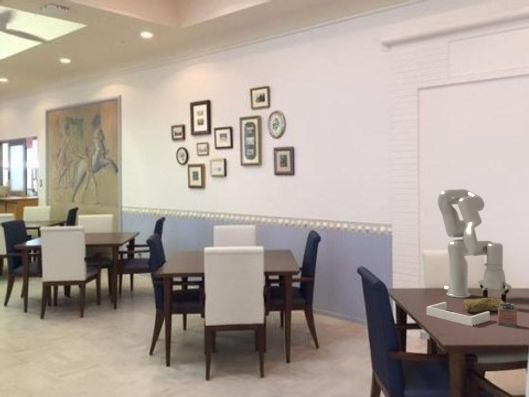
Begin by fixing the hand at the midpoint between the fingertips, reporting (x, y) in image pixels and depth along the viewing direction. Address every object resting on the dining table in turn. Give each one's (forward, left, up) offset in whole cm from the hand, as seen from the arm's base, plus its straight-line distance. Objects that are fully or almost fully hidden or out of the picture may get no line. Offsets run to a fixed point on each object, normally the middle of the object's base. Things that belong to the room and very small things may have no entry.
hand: (494, 299), depth 263 cm
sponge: (+1, -13, -4) cm, 14 cm away
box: (0, -33, -3) cm, 33 cm away
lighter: (+21, -26, -4) cm, 34 cm away
